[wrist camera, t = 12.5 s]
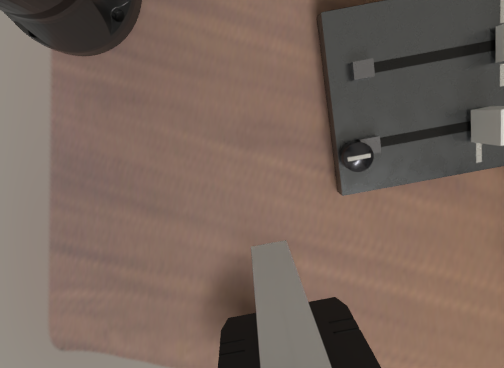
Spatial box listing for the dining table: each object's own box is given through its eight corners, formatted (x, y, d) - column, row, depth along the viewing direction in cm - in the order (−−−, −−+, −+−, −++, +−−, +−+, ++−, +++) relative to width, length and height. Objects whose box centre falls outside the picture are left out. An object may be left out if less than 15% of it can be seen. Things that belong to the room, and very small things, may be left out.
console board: (316, 17, 37) (325, 7, 33) (563, -29, 37) (600, -45, 33) (337, 191, 42) (347, 199, 38) (554, 151, 42) (586, 155, 38)
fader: (470, 109, 38) (501, 109, 33) (490, 106, 38) (524, 105, 33) (471, 142, 39) (501, 146, 34) (490, 138, 39) (523, 142, 34)
